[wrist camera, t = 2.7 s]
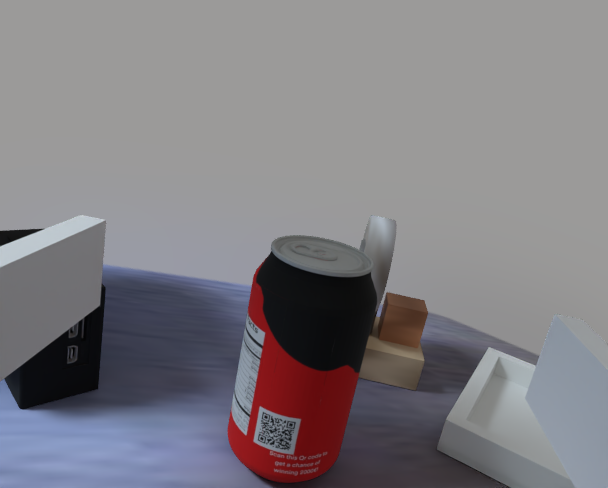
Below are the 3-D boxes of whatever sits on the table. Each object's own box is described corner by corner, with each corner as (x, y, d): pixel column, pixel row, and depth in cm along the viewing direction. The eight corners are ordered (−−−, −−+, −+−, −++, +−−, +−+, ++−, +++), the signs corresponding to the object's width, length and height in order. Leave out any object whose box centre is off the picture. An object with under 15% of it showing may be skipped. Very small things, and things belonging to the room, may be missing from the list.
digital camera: (-45, 329, 33) (-47, 230, 31) (43, 315, 37) (46, 226, 35) (-5, 418, 26) (-5, 299, 24) (97, 390, 30) (105, 284, 28)
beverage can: (323, 512, 25) (379, 290, 21) (205, 470, 26) (240, 253, 22) (344, 435, 30) (391, 251, 27) (248, 403, 32) (280, 223, 28)
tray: (436, 449, 31) (445, 419, 30) (481, 370, 42) (488, 347, 41) (685, 577, 25) (703, 543, 24) (661, 446, 36) (673, 420, 35)
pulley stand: (282, 363, 37) (312, 215, 33) (294, 323, 44) (320, 195, 40) (416, 394, 36) (460, 246, 33) (408, 348, 43) (443, 221, 40)
